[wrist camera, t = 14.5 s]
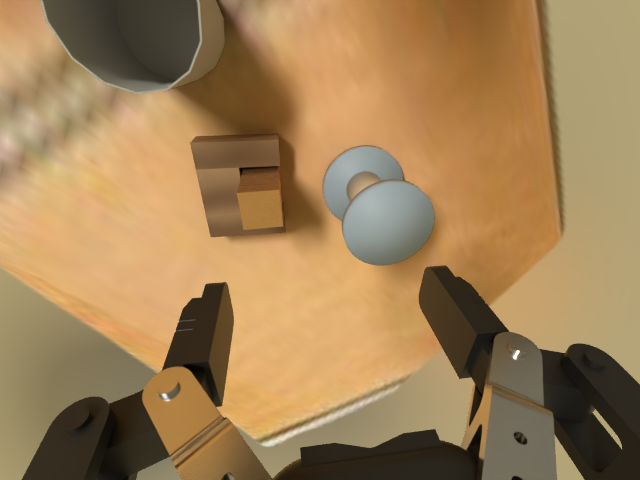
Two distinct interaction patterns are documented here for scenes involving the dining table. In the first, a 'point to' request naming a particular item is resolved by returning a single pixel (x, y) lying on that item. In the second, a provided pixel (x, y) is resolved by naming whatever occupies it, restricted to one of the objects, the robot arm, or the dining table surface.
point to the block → (260, 197)
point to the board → (230, 177)
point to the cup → (140, 40)
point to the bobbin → (377, 206)
